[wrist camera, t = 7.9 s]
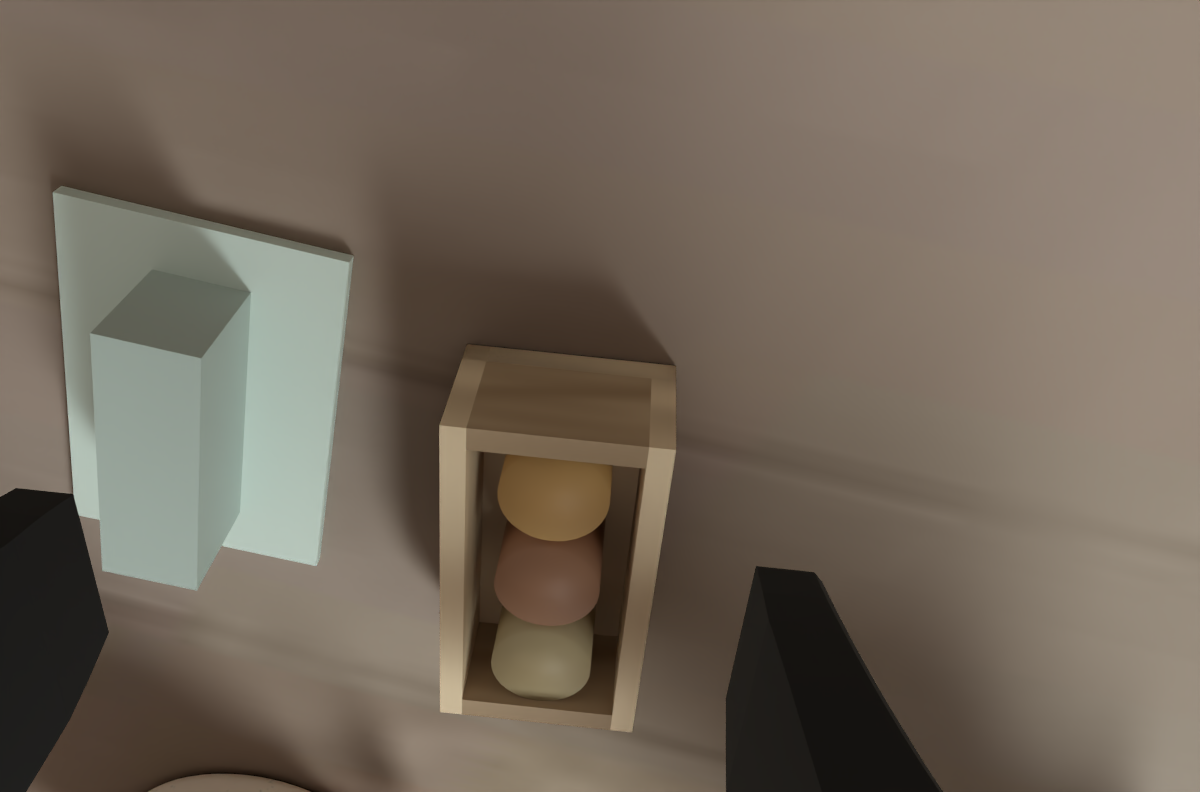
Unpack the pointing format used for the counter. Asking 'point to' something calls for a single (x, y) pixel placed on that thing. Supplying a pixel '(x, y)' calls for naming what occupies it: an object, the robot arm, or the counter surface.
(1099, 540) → the counter surface
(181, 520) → the lid
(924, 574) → the counter surface
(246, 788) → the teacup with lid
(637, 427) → the box
